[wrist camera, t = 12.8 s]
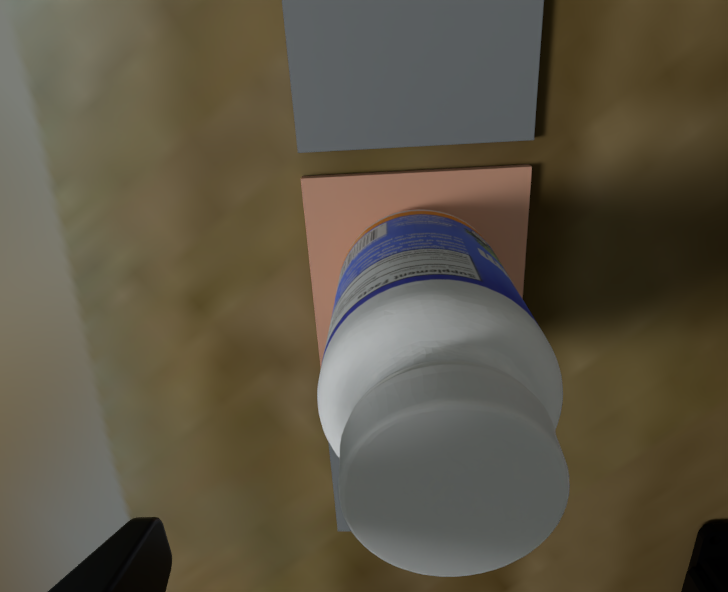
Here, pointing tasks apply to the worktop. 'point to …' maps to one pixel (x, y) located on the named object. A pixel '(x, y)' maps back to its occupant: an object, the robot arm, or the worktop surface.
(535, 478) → the pill bottle
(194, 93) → the worktop surface
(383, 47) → the game board
